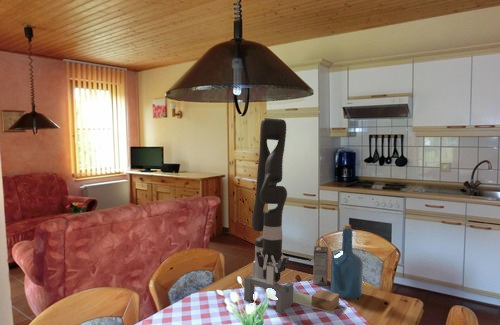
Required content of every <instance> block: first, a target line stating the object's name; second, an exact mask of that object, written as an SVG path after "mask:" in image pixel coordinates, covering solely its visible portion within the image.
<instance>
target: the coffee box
mask: <svg viewBox="0 0 500 325" xmlns="http://www.w3.org/2000/svg"><path fill="white" fill-rule="evenodd" d="M328 266H329V247H328V246H318V245H315V246H314V247H313V268H312V269H313V274H312V275H313V276H312V277H313V278H312V279H313V280H312V284H313V285H321V286H328V275H329V274H328V271H329V268H328Z"/></svg>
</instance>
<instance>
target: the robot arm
mask: <svg viewBox="0 0 500 325" xmlns="http://www.w3.org/2000/svg"><path fill="white" fill-rule="evenodd" d="M259 130H260V131H259V153H258V154H259V157H258V165H257V171H256V187H255V188H256V189H255V196H254V197H255V198H254V205H253V211H252V218H251V225H252V228H253V229H252V230H253V231H255V232H262V235H260V236H259V237H257V238H255V242H254V260H253V261H252V276H253V277H255V278H259V279H263V280H266V277H267V265H269V264H273V266H274V267H275V282H277V283H278V282H279V281H280V280H281V273H283V272H284V271H285V270H286V268H287V265H288V261H289V259H290V256H286V255H283V252H282V249H283V226H282V224H283V211H284V207H285V204H286V200H287V198H288V191H287V188H286V187H285V186H283V185H277V184H279V183H281V181H282V180H283V162H284V160H283V159H284V154H285V153H284V152H285V146H286V138H287V136H286V135H287V122H286V120H285V119H281V118H269V117H265V118H262V120H261V122H260V129H259ZM268 140H271V141H277V144H276V145H275V147H274V149H273V150H272V151H270V150H269V146H268ZM269 204H270V205H277V206H276V207H274V208H271V209H267V210H264V208H265V205H269ZM280 260H281V261H280Z"/></svg>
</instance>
